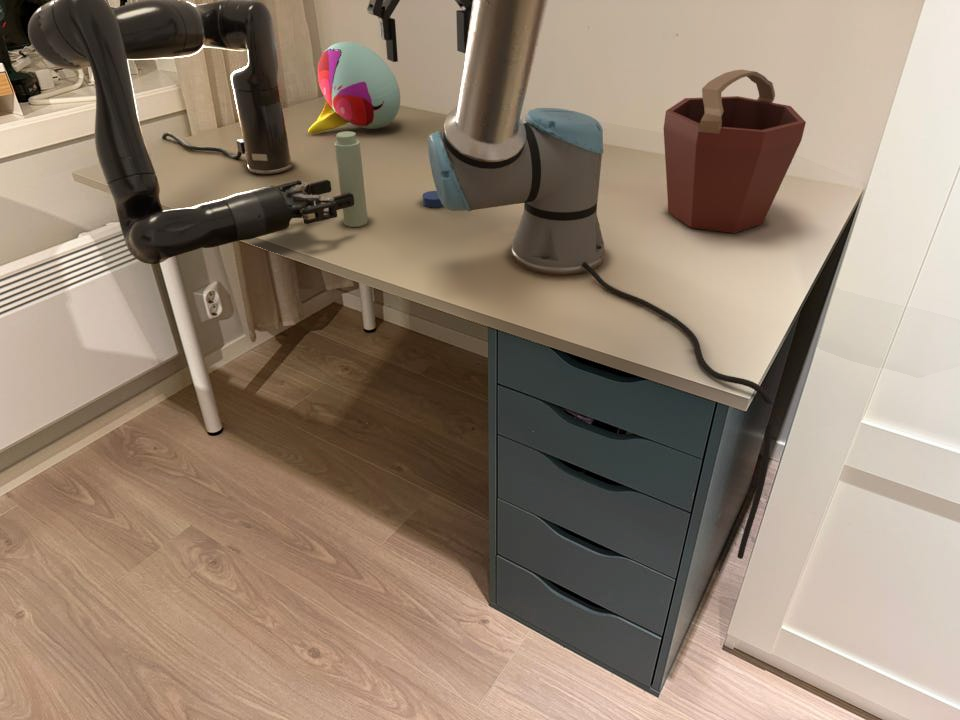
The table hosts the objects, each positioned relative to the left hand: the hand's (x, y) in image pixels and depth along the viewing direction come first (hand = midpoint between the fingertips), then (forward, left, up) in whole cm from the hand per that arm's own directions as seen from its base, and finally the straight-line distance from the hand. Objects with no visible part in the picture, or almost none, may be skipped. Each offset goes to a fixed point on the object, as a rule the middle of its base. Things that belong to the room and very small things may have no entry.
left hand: (341, 191), depth 125 cm
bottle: (0, +2, -6) cm, 7 cm away
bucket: (+38, +56, -6) cm, 69 cm away
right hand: (+2, +19, +21) cm, 28 cm away
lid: (+1, +19, -5) cm, 20 cm away
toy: (-54, +32, -6) cm, 62 cm away
